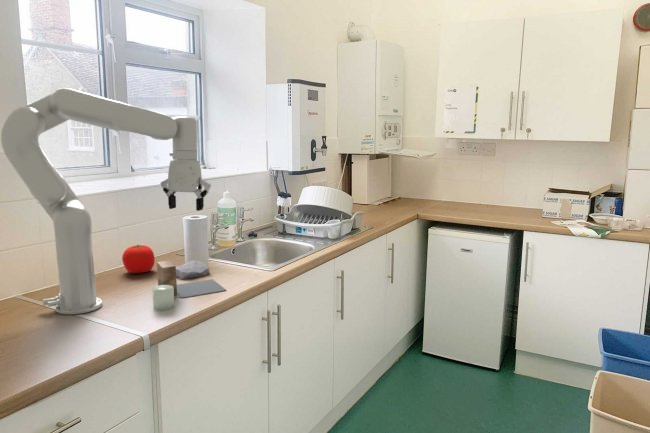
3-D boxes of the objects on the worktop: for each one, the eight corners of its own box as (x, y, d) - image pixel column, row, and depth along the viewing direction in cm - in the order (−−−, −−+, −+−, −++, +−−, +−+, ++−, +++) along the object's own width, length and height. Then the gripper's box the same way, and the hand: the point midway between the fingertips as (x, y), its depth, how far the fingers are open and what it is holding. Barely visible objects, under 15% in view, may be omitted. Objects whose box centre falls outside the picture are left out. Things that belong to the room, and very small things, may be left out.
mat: (181, 298, 158) (181, 297, 158) (169, 286, 169) (169, 285, 169) (226, 290, 165) (226, 289, 165) (212, 279, 177) (212, 279, 177)
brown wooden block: (164, 298, 158) (162, 267, 156) (158, 291, 165) (156, 261, 163) (177, 296, 160) (176, 266, 158) (171, 289, 167) (169, 260, 165)
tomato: (151, 266, 194) (150, 240, 192) (158, 274, 184) (157, 246, 182) (120, 270, 188) (119, 243, 186) (126, 278, 178) (124, 250, 176)
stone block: (211, 278, 186) (195, 268, 192) (212, 266, 184) (196, 257, 190) (184, 286, 177) (168, 276, 183) (185, 274, 175) (169, 264, 181)
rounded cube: (156, 311, 146) (154, 292, 145) (151, 305, 151) (150, 286, 150) (176, 308, 149) (175, 289, 148) (171, 302, 154) (170, 283, 153)
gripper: (154, 155, 157) (155, 209, 160) (204, 157, 153) (205, 212, 156) (167, 154, 164) (168, 206, 167) (215, 156, 160) (215, 209, 163)
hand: (186, 209), depth 161 cm, fingers open, 9 cm apart
